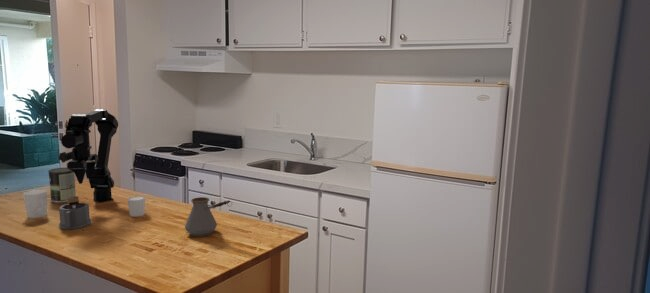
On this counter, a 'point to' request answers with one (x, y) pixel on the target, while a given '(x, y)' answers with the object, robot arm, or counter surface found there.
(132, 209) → the shot glass
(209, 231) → the coffee pot
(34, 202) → the white cup
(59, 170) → the coffee can
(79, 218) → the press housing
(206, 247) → the counter surface
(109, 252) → the counter surface
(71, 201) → the plunger
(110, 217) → the counter surface
